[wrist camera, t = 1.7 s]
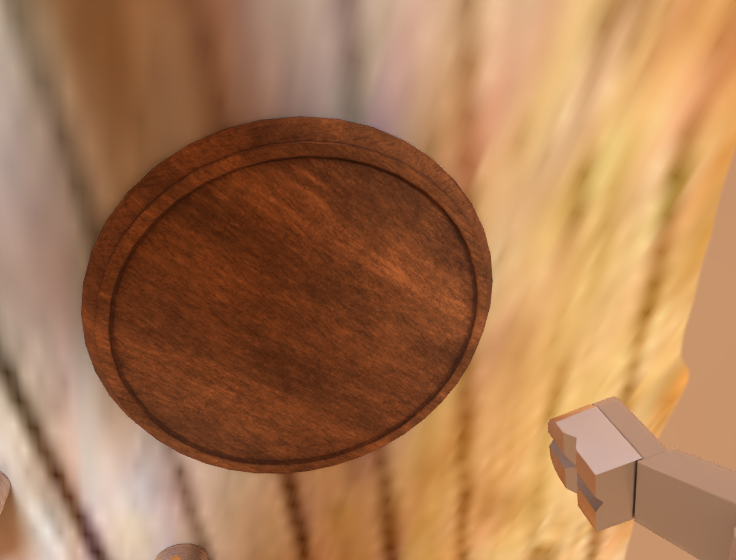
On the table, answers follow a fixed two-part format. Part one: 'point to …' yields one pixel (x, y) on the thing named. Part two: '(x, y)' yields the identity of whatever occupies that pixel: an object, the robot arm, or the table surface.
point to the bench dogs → (190, 555)
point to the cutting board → (287, 294)
